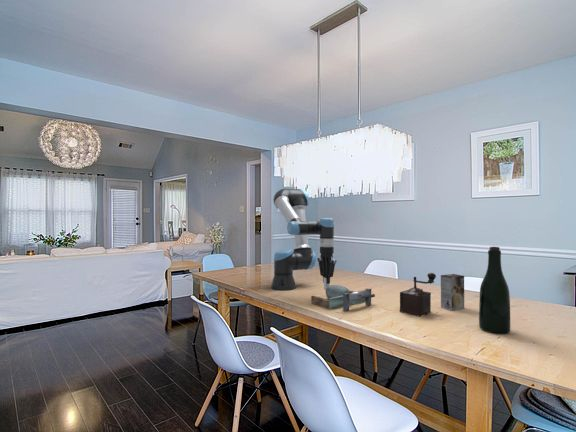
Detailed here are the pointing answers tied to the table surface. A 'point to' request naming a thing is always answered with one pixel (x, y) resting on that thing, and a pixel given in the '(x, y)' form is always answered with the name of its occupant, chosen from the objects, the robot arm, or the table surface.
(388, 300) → the table surface
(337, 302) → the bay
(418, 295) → the manual coffee grinder
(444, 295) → the coffee box
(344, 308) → the grey clamp
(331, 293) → the grey rounded barrel
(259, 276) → the table surface
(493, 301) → the dark green wine bottle
